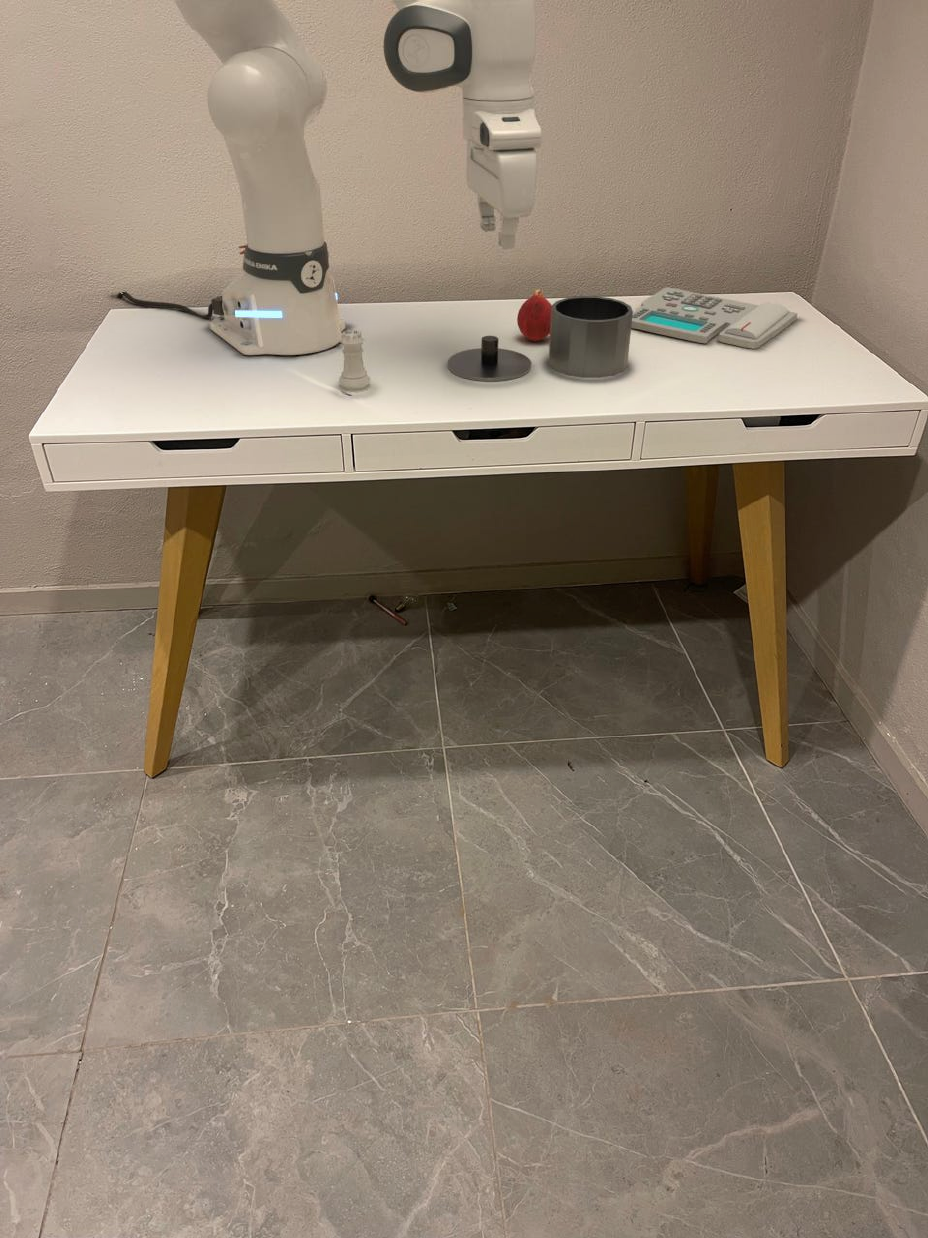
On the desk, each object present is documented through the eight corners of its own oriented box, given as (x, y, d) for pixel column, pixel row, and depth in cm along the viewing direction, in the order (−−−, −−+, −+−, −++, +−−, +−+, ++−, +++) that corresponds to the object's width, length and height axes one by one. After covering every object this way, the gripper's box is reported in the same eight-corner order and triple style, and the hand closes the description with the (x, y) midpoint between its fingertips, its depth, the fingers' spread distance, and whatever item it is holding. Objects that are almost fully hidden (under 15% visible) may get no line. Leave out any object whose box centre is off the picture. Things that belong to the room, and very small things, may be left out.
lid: (430, 369, 139) (429, 337, 136) (488, 349, 146) (489, 318, 143) (489, 392, 132) (490, 359, 129) (548, 370, 139) (550, 338, 136)
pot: (532, 366, 140) (535, 307, 135) (582, 347, 146) (586, 290, 142) (592, 387, 134) (597, 326, 129) (641, 367, 140) (648, 308, 135)
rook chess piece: (358, 399, 130) (354, 340, 125) (332, 392, 132) (327, 334, 127) (378, 388, 133) (375, 331, 128) (352, 381, 135) (348, 325, 130)
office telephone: (800, 304, 156) (757, 338, 143) (796, 320, 158) (754, 356, 144) (667, 278, 167) (615, 308, 153) (665, 294, 168) (613, 325, 154)
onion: (551, 351, 145) (554, 297, 141) (513, 348, 146) (515, 294, 141) (556, 338, 150) (559, 285, 145) (519, 335, 151) (521, 283, 146)
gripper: (454, 112, 128) (455, 222, 136) (494, 136, 112) (493, 259, 120) (500, 110, 129) (499, 219, 137) (546, 133, 113) (542, 256, 121)
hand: (496, 238), depth 128 cm, fingers open, 8 cm apart
